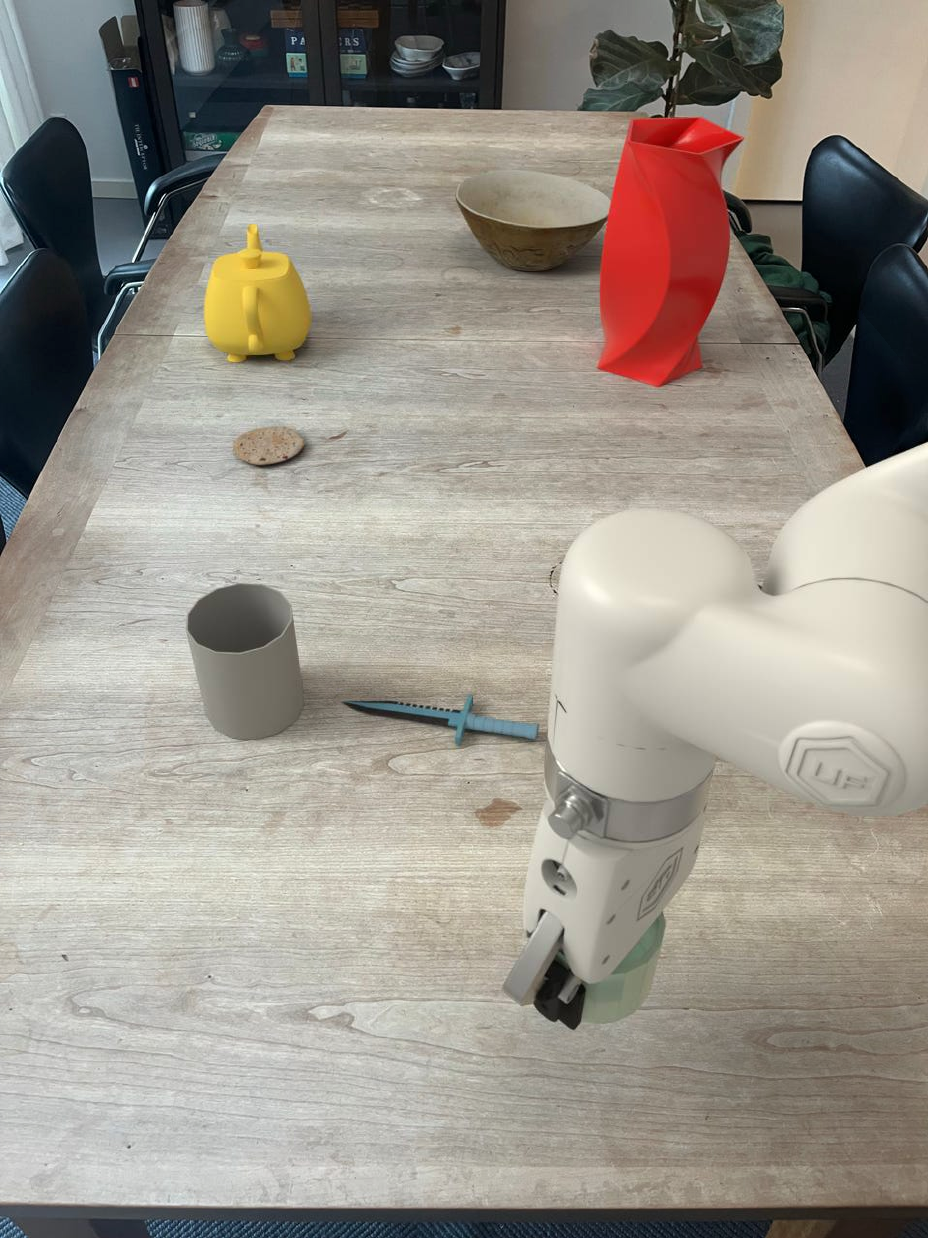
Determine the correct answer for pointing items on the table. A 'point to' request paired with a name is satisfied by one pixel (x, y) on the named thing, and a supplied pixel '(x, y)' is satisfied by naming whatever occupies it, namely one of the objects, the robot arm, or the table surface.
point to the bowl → (531, 216)
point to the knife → (447, 717)
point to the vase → (664, 247)
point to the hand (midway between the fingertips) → (594, 960)
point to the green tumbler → (623, 980)
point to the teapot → (256, 303)
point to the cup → (246, 660)
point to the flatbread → (268, 445)
